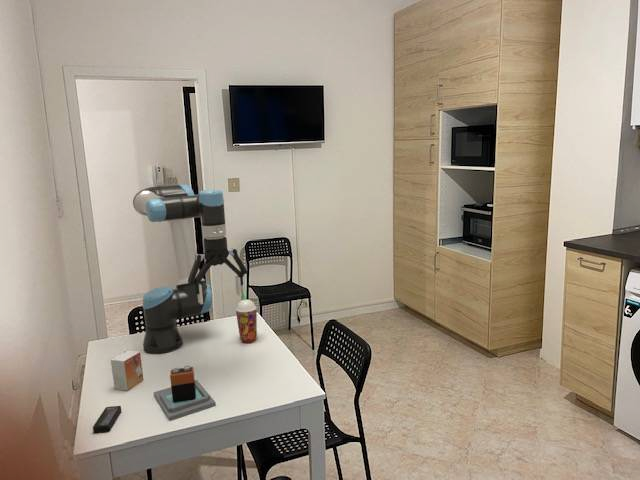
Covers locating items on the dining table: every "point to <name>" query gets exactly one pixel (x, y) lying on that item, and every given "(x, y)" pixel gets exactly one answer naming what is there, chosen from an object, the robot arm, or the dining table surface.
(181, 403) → the dock
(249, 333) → the smoothie
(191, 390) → the battery
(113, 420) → the multiport hub
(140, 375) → the small box
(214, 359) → the dining table surface
